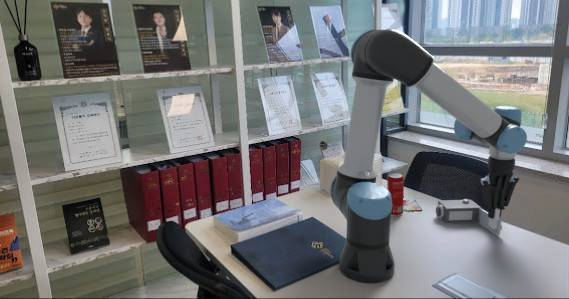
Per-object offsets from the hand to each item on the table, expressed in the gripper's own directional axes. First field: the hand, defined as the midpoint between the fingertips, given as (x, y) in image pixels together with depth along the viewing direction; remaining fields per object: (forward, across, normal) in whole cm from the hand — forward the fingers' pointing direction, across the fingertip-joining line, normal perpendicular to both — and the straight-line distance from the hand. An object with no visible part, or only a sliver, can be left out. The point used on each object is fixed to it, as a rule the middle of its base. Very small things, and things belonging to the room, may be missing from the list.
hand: (492, 226), depth 139 cm
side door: (+2, +1, +3) cm, 4 cm away
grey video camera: (+3, -3, +14) cm, 14 cm away
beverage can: (+3, -23, +23) cm, 33 cm away
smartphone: (+3, -13, +31) cm, 34 cm away
